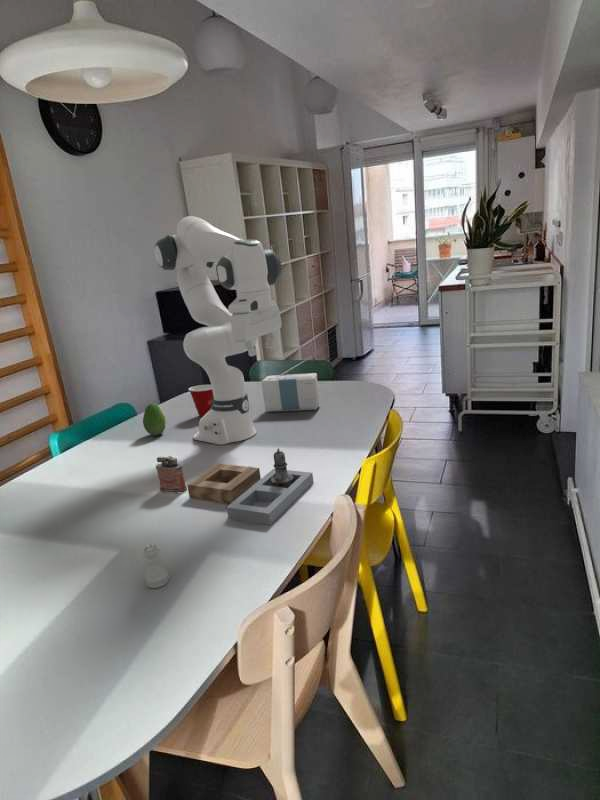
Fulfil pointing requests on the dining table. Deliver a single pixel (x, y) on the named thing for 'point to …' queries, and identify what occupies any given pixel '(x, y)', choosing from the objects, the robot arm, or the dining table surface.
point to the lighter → (170, 475)
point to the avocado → (154, 420)
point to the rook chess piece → (154, 568)
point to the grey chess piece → (281, 471)
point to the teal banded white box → (291, 392)
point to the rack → (269, 498)
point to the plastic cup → (202, 398)
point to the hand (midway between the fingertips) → (261, 351)
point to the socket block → (223, 483)
